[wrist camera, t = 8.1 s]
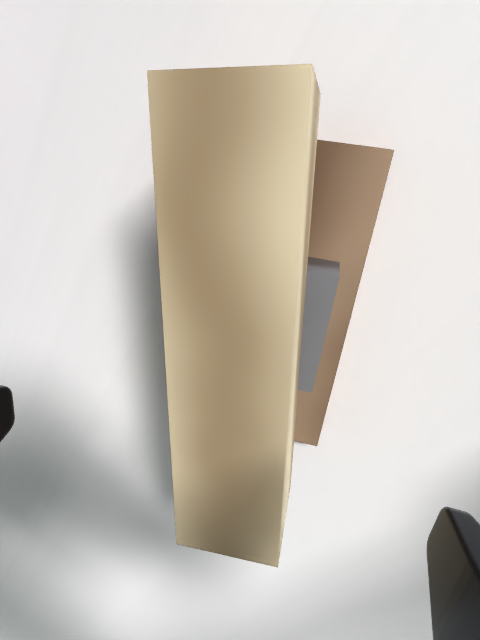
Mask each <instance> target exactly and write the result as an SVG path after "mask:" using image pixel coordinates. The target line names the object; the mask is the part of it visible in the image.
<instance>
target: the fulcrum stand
mask: <svg viewBox="0 0 480 640" xmlns="http://www.w3.org/2000/svg"><path fill="white" fill-rule="evenodd" d="M393 153H394V150H391V149H384V148H376V147H368V146H361V145H353V144H346V143H338V142H331V141H323V140H317V146H316V159H315V172H314V185H313V198H312V211H311V224H310V237H309V250H308V263H307V276H306V289H305V302H304V315H303V328H302V341H301V354H300V367H299V380H298V393H297V406H296V419H295V432H294V440H295V441H298V442H302V443H306V444H310V445H314V446H317V444H318V440H319V436H320V433H321V429H322V425H323V421H324V417H325V413H326V410H327V406H328V402H329V398H330V394H331V390H332V387H333V383H334V379H335V375H336V371H337V367H338V364H339V360H340V356H341V352H342V348H343V344H344V341H345V337H346V333H347V329H348V325H349V321H350V318H351V314H352V310H353V306H354V302H355V298H356V295H357V291H358V287H359V283H360V279H361V275H362V272H363V268H364V264H365V260H366V256H367V252H368V249H369V245H370V241H371V237H372V233H373V229H374V226H375V222H376V218H377V214H378V210H379V206H380V203H381V199H382V195H383V191H384V187H385V183H386V180H387V176H388V172H389V168H390V164H391V160H392V157H393Z"/></svg>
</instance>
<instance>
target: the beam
mask: <svg viewBox="0 0 480 640" xmlns="http://www.w3.org/2000/svg"><path fill="white" fill-rule="evenodd" d="M147 77H148V93H149V109H150V125H151V141H152V157H153V173H154V190H155V206H156V222H157V238H158V254H159V270H160V286H161V302H162V318H163V334H164V350H165V366H166V382H167V398H168V414H169V430H170V446H171V462H172V478H173V494H174V510H175V526H176V542H177V544H178V545H183V546H187V547H191V548H196V549H200V550H204V551H209V552H213V553H217V554H222V555H226V556H230V557H235V558H239V559H244V560H248V561H252V562H257V563H261V564H265V565H270V566H274V567H278V563H279V556H280V550H281V544H282V537H283V531H284V524H285V518H286V512H287V505H288V499H289V492H290V484H291V471H292V458H293V445H294V432H295V419H296V406H297V393H298V380H299V367H300V354H301V341H302V328H303V315H304V302H305V289H306V276H307V263H308V250H309V237H310V224H311V211H312V198H313V185H314V172H315V159H316V146H317V133H318V120H319V107H320V91H319V87H318V83H317V79H316V76H315V72H314V68H313V64H296V65H271V66H246V67H222V68H197V69H173V70H148V71H147Z"/></svg>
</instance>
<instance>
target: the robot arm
mask: <svg viewBox="0 0 480 640" xmlns="http://www.w3.org/2000/svg"><path fill="white" fill-rule="evenodd" d="M14 420H15V415H14V406H13V397H12V392H11V390H10V388H8V387H6V386H2V385H0V442H1V441H2V439H3V438H4V437H5V436H6V435H7V433H8V432H9V431H10V429H11V428H12V426H13V424H14ZM427 563H428V576H429V590H430V603H431V617H432V630H433V640H480V524H479V523H478V522H477V521H476V520H475V519H474V518H473V517H472V516H471V515H470V514H469V513H467V512H465V511H461V510H457V509H454V508H450V507H444V508H443V509H441V511H440V513H439V515H438V517H437V519H436V522H435V524H434V526H433V528H432V530H431V533H430V535H429V538H428V541H427Z"/></svg>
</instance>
